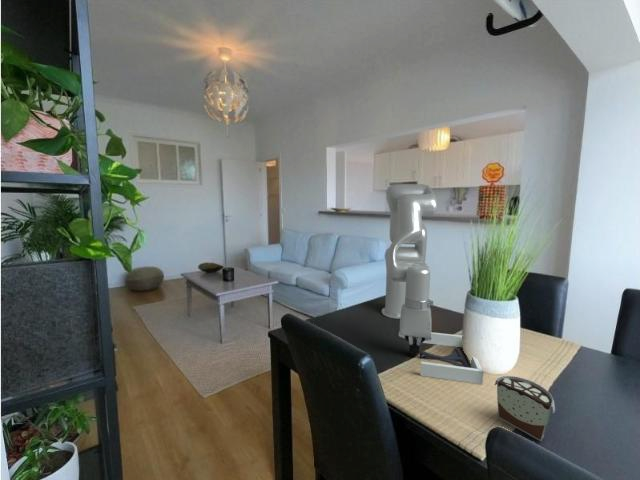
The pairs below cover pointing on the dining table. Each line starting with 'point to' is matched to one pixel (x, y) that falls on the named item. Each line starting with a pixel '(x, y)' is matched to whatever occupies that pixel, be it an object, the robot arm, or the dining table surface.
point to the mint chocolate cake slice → (524, 405)
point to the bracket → (448, 358)
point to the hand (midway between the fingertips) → (413, 354)
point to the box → (451, 371)
